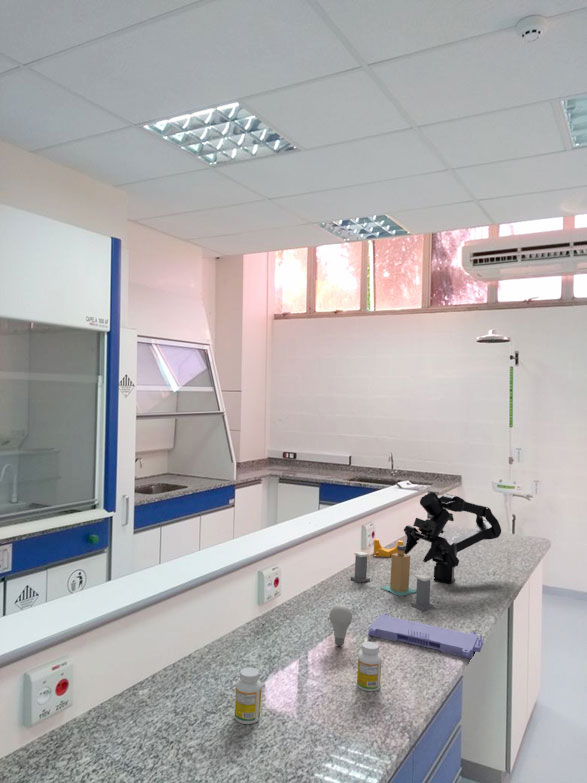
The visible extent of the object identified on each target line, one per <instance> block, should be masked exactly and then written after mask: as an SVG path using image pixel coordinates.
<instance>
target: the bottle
mask: <svg viewBox="0 0 587 783" xmlns="http://www.w3.org/2000/svg"><path fill="white" fill-rule="evenodd" d="M397 549H398V553H395V554H392V556H391V561H390V583H389V584H390V585H389V586H390V588H391V589H393V590H395V591H398V592H402V591H407V590H409V588H410V571H411V570H410V569H411V567H410V566H411V555H409V554H405V550H406V545H404V544H403V545H398V546H397Z"/></svg>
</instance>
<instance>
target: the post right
mask: <svg viewBox="0 0 587 783" xmlns="http://www.w3.org/2000/svg"><path fill="white" fill-rule="evenodd" d="M369 555H370V554H369V553H367V552H364V551H357V552H356V551H355V552H354V556H355V561H354V563H355V564H354V575H351V576H350V580H352V581H354V582H356V581H357V582H356V583H358V582H359V583H358V584H362V583H361V582H363V583H367V582H366V581H368V582H371V577H369V576H367V568H368V567H367V566H368V557H369Z"/></svg>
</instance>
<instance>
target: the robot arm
mask: <svg viewBox="0 0 587 783" xmlns="http://www.w3.org/2000/svg"><path fill="white" fill-rule="evenodd" d="M419 505H420V506H421V508H423V509H424V510H425V512H426V513H427V514H428V515H429V516H431V517H430V518H429V519H427V518H426V519H425V520H424V519H421V518H418V517H415V518H414V519H415V520H414V522H413V524H412V526H411V525H406V526H405V527H404V528H403V533H404V534H405V536H406V544H405V546H406V550H405V554H406V555H409V553H410V552H411V551H412V550H413V549H414V548H415V546H416V545H418V541H420V540H423V541H425V542H428V543H430V548H429V550H428V551H427V553H426V554H425V556H424V558H423V562H424V563H427V562H428V561H430V560H431V561H432V562H435V565H434V566H433V581H435V582H441V583H446V584H452V583H453V582H454V581H455V580H456V577H455V568H456V567H458V566H459V563H460V559H459V557H457V555H458V553H459V552H461V551H463V550H465V549H467V548H469V547H471V546H473V545H475V544H478V543H479V542H481V541H485V540H495V539H498V538H499V537H500V536H501V534H502V527H501V525H500V523H499V522H500V521H499V520H498V518H496V516H495V515H494V514H493V511H492V509H491V508H490V507H488V506H485V505H481V504H480V505H479V504H475V503H472V502H468V501H466V500H464V499H463V498H462V497H460V496H457V495H453V494H449V493H443V494H442V495H441V496H440V497H439V496H438V495H437V493H436V492H434V491H430V492H429V493H427V494H425V495H424V496H422V497H421V498H420V500H419ZM450 511H451V512H453V513H454V512H455V513H460V512H466V513H471V514H473V515H476V517H475V518H476V519H475V524H476V525H475V528H474V529H472V530H470V531H468V532H466V533H464V534H462V535H459V536H458V537H455V538H453V539H451V540H450V539H447V538H444V537H442V536H440V534H444V533H445V531H444V528H445V526H446V525H447V523H448V522H449V521H450V522H455V520H454V514H453V513H451V512H450ZM484 518H485V519H484ZM417 528H418V529H417Z"/></svg>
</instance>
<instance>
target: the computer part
mask: <svg viewBox="0 0 587 783" xmlns="http://www.w3.org/2000/svg"><path fill="white" fill-rule="evenodd" d="M389 615H390V614H389V613H385V612H383V613H382V614H379V615H378V616H377V618H375V620H374V621H373V622H372V623H371V624H370V625H369V626H368V635H369V636H371V637H376V638H380V639H385V640H389V641H393V642H403V643H407V644H410V645H414V646H419V647H424V648H426V649H427V648H428V649H433V650H439V652H440V653H445V654H449V655H453V656H456V657H457V656H458V657H461V658H465V659H466V658H467V659H471V660H472V659H473V656H474V652H476V653H480V652H481V651H482V648H483V646H484V639H483V637H482V636H483V634H480V636H479V635H478V632H475V631H471V632H470V633H469V632H464V631H459V630H458V631H457V630H454V629H449V628H444V627H439V626H435V625H430V624H426V623H421V622H417V621H411V620H406V619H403V618H397V617H393V616H389Z"/></svg>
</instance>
